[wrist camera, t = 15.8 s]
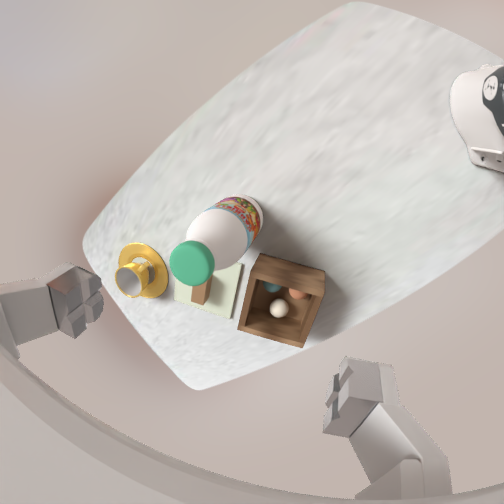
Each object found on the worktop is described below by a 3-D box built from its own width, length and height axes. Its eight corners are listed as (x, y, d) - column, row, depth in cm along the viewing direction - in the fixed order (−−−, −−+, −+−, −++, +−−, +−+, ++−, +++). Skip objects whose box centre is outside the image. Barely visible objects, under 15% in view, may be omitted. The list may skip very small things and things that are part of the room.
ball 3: (311, 279, 46) (311, 288, 44) (306, 295, 48) (305, 305, 45) (293, 274, 47) (291, 283, 44) (288, 290, 48) (285, 300, 45)
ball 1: (285, 272, 47) (283, 281, 44) (281, 288, 48) (278, 298, 45) (267, 266, 47) (263, 275, 45) (262, 283, 49) (259, 292, 46)
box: (324, 271, 46) (324, 291, 40) (305, 324, 51) (302, 348, 44) (260, 253, 48) (250, 270, 41) (247, 307, 52) (237, 329, 46)
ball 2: (291, 298, 49) (289, 308, 46) (286, 313, 50) (284, 323, 47) (273, 293, 49) (270, 302, 46) (269, 308, 50) (266, 318, 47)
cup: (147, 306, 58) (134, 319, 53) (111, 264, 57) (96, 274, 52) (180, 277, 53) (167, 290, 49) (139, 229, 52) (123, 238, 47)
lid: (243, 262, 50) (236, 272, 46) (231, 315, 54) (224, 328, 51) (182, 243, 51) (171, 252, 47) (176, 297, 56) (166, 307, 52)
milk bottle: (255, 246, 48) (214, 312, 29) (212, 230, 48) (150, 283, 30) (270, 203, 44) (235, 247, 26) (225, 186, 45) (161, 218, 27)
